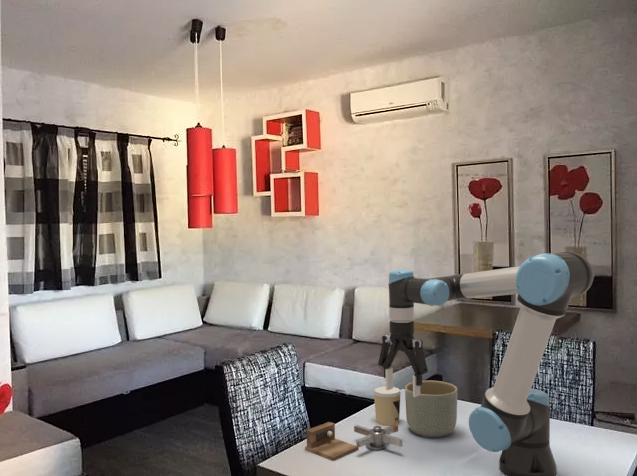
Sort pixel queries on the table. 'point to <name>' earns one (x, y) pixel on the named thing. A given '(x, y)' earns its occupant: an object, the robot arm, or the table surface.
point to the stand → (327, 442)
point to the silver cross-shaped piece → (377, 437)
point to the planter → (432, 408)
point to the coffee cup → (387, 405)
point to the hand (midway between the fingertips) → (402, 392)
